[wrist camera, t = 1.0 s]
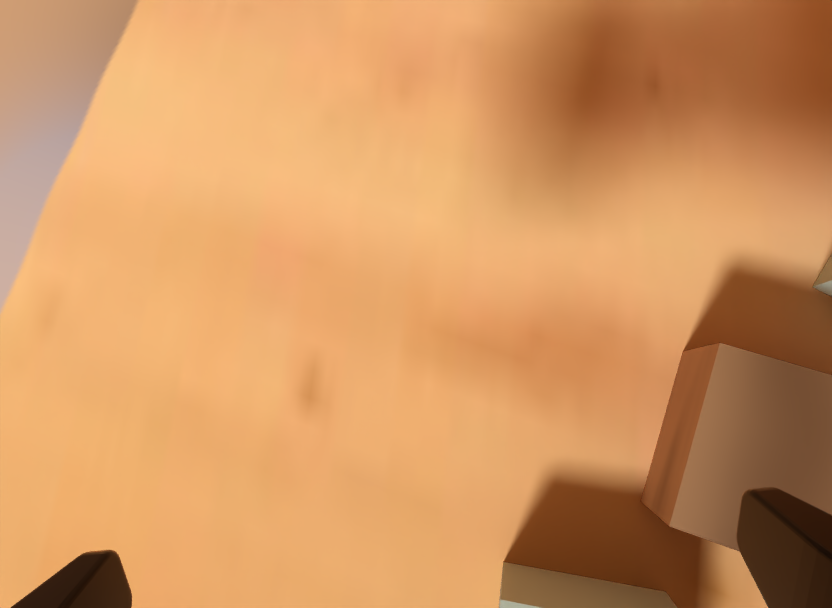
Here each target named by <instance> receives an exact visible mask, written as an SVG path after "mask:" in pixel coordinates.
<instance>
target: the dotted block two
mask: <svg viewBox="0 0 832 608" xmlns="http://www.w3.org/2000/svg"><path fill="white" fill-rule="evenodd" d="M499 608H677V606H676V605H675V604H674V602H673V601H672V600H671V598H670V597H669V595H668V594H667V593H666V592H665V591H660V590H654V589H649V588H643V587H638V586H632V585H627V584H622V583H616V582H611V581H605V580H600V579H594V578H589V577H583V576H578V575H573V574H567V573H562V572H556V571H551V570H545V569H540V568H535V567H529V566H524V565H518V564H513V563H507V562H503V570H502V580H501V589H500V599H499Z"/></svg>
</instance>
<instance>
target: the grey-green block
mask: <svg viewBox="0 0 832 608" xmlns="http://www.w3.org/2000/svg"><path fill="white" fill-rule="evenodd" d="M813 288H815V289H817V290H819V291H821V292H823V293H825V294H827V295H829V296H831V297H832V255H831V256H830V258H829V260H828V261H827V263H826V265H825V266H824V268H823V270H822V272H821V273H820V275H819V277H818V278H817V280H816V282H815V283H814V285H813Z"/></svg>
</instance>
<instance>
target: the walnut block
mask: <svg viewBox="0 0 832 608" xmlns="http://www.w3.org/2000/svg"><path fill="white" fill-rule="evenodd" d="M764 487H775V488H778V489H781V490H783V491H785V492H787V493H789V494H791V495H793V496H795V497H797V498H799V499H801V500H803V501H805V502H807V503H809V504H811V505H813V506H815V507H817V508H819V509H821V510H823V511H825V512H827V513H829V514H831V515H832V375H830V374H827V373H823V372H820V371H816V370H813V369H809V368H806V367H803V366H799V365H796V364H792V363H789V362H785V361H782V360H778V359H775V358H771V357H768V356H764V355H761V354H757V353H754V352H750V351H747V350H744V349H740V348H737V347H733V346H730V345H726V344H723V343H716V344H712V345H708V346H704V347H699V348H695V349H691V350H687V351H683V353H682V356H681V360H680V364H679V367H678V371H677V374H676V378H675V381H674V385H673V388H672V392H671V396H670V399H669V403H668V406H667V410H666V413H665V417H664V420H663V424H662V427H661V431H660V435H659V438H658V442H657V445H656V449H655V452H654V456H653V459H652V463H651V466H650V470H649V474H648V477H647V481H646V484H645V488H644V491H643V495H642V498H641V502H642V503H643V504H644V505H645V506H647V507H648V508H649V509H650V510H651V511H652V512H653V513H655V514H656V515H657V516H658V517H659V518H660V519H661V520H663V521H664V522H665V523H666V524H667V525H668V526H670V527H672V528H675V529H678V530H681V531H684V532H686V533H689V534H692V535H695V536H698V537H701V538H703V539H706V540H709V541H712V542H715V543H717V544H720V545H723V546H726V547H729V548H731V549H734V550H737V551H740V550H739V547H738V544H737V536H736V535H737V526H738V519H739V512H740V505H741V499H742V495H743V493H744V492H745V491H746V490H748V489H754V488H764Z"/></svg>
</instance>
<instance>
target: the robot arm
mask: <svg viewBox="0 0 832 608" xmlns="http://www.w3.org/2000/svg"><path fill="white" fill-rule="evenodd" d="M736 536H737V544H738V547H739V550H740V552H741V555H742V557H743V559H744V561H745V563H746V565H747V567H748V569H749V571H750V572H751V574H752V576H753V578H754V580H755V582H756V584H757V586H758V588H759V590H760V592H761V594H762V596H763V598H764V600H765V602H766V604H767V606H768V608H832V515H831V514H829V513H827V512H825V511H823V510H821V509H819V508H817V507H815V506H813V505H811V504H809V503H807V502H805V501H803V500H801V499H799V498H797V497H795V496H793V495H791V494H789V493H787V492H785V491H783V490H781V489H778V488H775V487H764V488H754V489H748V490H746V491H745V492H744V493H743V495H742V499H741V505H740V512H739V519H738V526H737V535H736ZM131 606H132V594H131V590H130V587H129V584H128V581H127V578H126V575H125V572H124V569H123V566H122V563H121V560H120V557H119V555H118V554H117V553H116V552H115V551H113V550H102V551H91V552H86V553H83V554H81V555H80V556H78V557H77V558H76V559H74V560H73V561H72V562H70V563H69V564H68V565H66V566H65V567H64V568H62V569H61V570H60V571H58V572H57V573H56V574H55V575H53V576H52V577H51V578H49V579H48V580H47V581H45V582H44V583H43V584H41V585H40V586H39V587H37V588H36V589H35V590H33V591H32V592H31V593H29V594H28V595H27V596H25V597H24V598H23V599H21V600H20V601H19V602H17V603H16V604H15V605H13V606H12V607H11V608H131Z"/></svg>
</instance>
